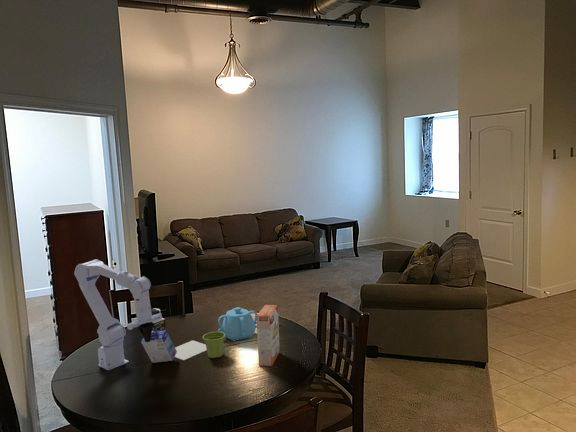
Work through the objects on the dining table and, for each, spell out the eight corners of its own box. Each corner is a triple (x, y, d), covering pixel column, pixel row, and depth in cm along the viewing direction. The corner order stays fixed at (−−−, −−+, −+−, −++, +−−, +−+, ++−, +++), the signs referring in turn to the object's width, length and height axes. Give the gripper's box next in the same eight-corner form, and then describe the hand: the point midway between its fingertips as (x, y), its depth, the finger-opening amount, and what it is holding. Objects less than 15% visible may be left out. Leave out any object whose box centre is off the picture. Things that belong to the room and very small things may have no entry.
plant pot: (199, 358, 198) (197, 338, 197) (213, 349, 206) (211, 330, 205) (217, 361, 194) (216, 341, 193) (230, 352, 202) (229, 333, 201)
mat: (183, 360, 196) (183, 360, 196) (163, 353, 205) (163, 352, 205) (213, 347, 208) (213, 347, 208) (192, 341, 217) (192, 340, 217)
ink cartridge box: (177, 350, 198) (164, 325, 192) (173, 361, 194) (160, 335, 187) (156, 353, 201) (142, 328, 194) (151, 363, 196) (137, 337, 189)
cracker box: (273, 367, 186) (270, 315, 184) (258, 366, 188) (255, 315, 185) (280, 352, 200) (278, 304, 197) (266, 352, 201) (264, 304, 199)
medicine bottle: (154, 337, 224) (152, 312, 223) (144, 334, 228) (142, 310, 227) (166, 332, 230) (164, 308, 228) (157, 330, 234) (155, 306, 233)
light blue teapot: (214, 339, 218) (212, 311, 216) (235, 327, 232) (233, 300, 230) (242, 345, 210) (240, 315, 208) (263, 333, 223) (261, 305, 221)
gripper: (132, 314, 180) (137, 349, 181) (164, 304, 191) (168, 336, 192) (122, 312, 184) (127, 346, 186) (154, 302, 195) (158, 334, 197)
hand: (147, 341), depth 189 cm, fingers closed, pressing on ink cartridge box
